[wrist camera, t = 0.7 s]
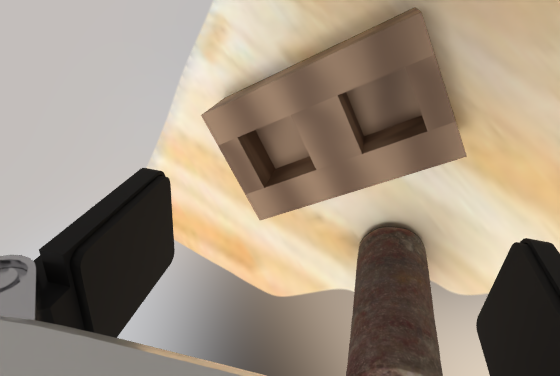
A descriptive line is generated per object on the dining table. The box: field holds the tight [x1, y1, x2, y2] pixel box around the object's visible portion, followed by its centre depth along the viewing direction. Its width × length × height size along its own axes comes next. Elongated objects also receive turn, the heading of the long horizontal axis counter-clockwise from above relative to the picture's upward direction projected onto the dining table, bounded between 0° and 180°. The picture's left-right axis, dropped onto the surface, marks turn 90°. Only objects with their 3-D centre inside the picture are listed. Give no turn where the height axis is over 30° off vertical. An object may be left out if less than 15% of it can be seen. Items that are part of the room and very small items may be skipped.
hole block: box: [201, 8, 467, 220], centre depth 36 cm, size 20×12×6 cm, turn 117°
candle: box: [346, 227, 443, 376], centre depth 36 cm, size 8×7×20 cm
